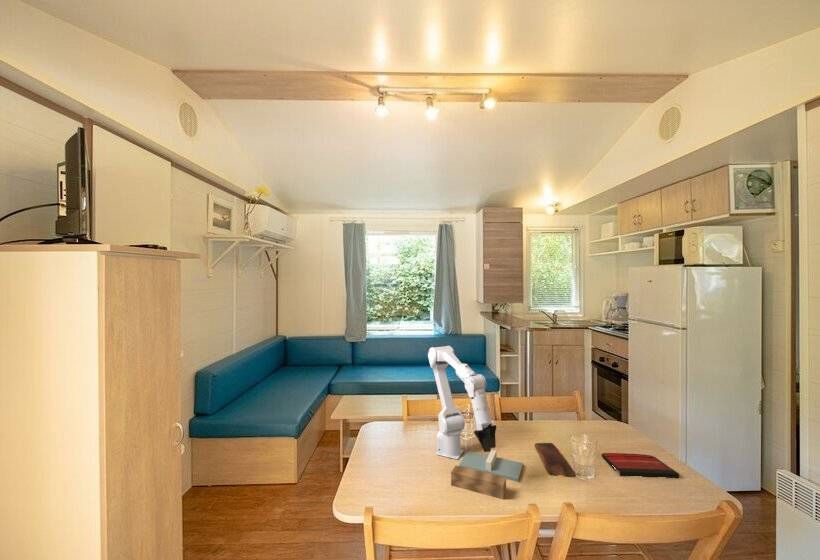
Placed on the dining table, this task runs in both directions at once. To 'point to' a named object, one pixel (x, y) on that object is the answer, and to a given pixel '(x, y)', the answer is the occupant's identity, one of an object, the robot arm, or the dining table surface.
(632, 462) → the binder
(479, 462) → the ridge stand
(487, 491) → the walnut bar
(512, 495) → the dining table surface
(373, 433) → the dining table surface
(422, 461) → the dining table surface
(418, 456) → the dining table surface
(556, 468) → the wooden tablet
